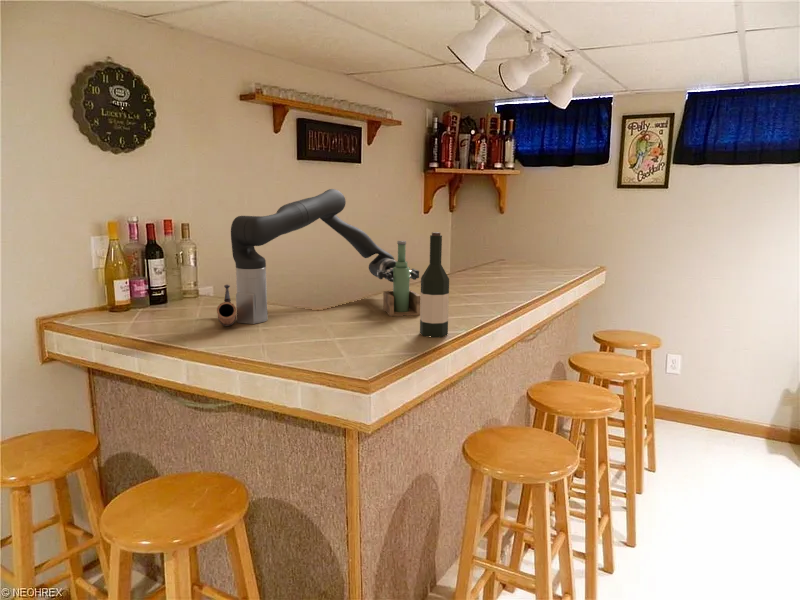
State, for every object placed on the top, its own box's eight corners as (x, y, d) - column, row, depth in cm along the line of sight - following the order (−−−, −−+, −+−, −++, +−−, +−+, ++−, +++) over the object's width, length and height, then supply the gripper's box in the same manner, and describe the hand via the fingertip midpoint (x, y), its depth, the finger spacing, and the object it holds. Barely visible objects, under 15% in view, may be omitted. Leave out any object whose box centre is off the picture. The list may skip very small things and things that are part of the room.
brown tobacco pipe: (217, 334, 172) (216, 300, 170) (219, 313, 200) (218, 284, 198) (237, 333, 174) (235, 300, 172) (236, 312, 202) (235, 283, 200)
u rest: (420, 314, 201) (420, 295, 200) (390, 316, 199) (390, 296, 197) (411, 308, 211) (412, 290, 210) (383, 309, 209) (383, 291, 207)
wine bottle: (445, 338, 171) (448, 234, 165) (417, 336, 173) (419, 233, 167) (449, 331, 179) (452, 231, 173) (422, 329, 181) (424, 231, 175)
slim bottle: (406, 312, 202) (407, 242, 197) (391, 311, 203) (391, 241, 198) (410, 309, 207) (411, 240, 202) (395, 308, 208) (396, 240, 204)
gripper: (372, 260, 214) (382, 266, 198) (410, 259, 217) (423, 265, 202) (372, 281, 215) (382, 288, 200) (410, 279, 219) (423, 287, 203)
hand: (403, 277), depth 201 cm, fingers open, 8 cm apart
